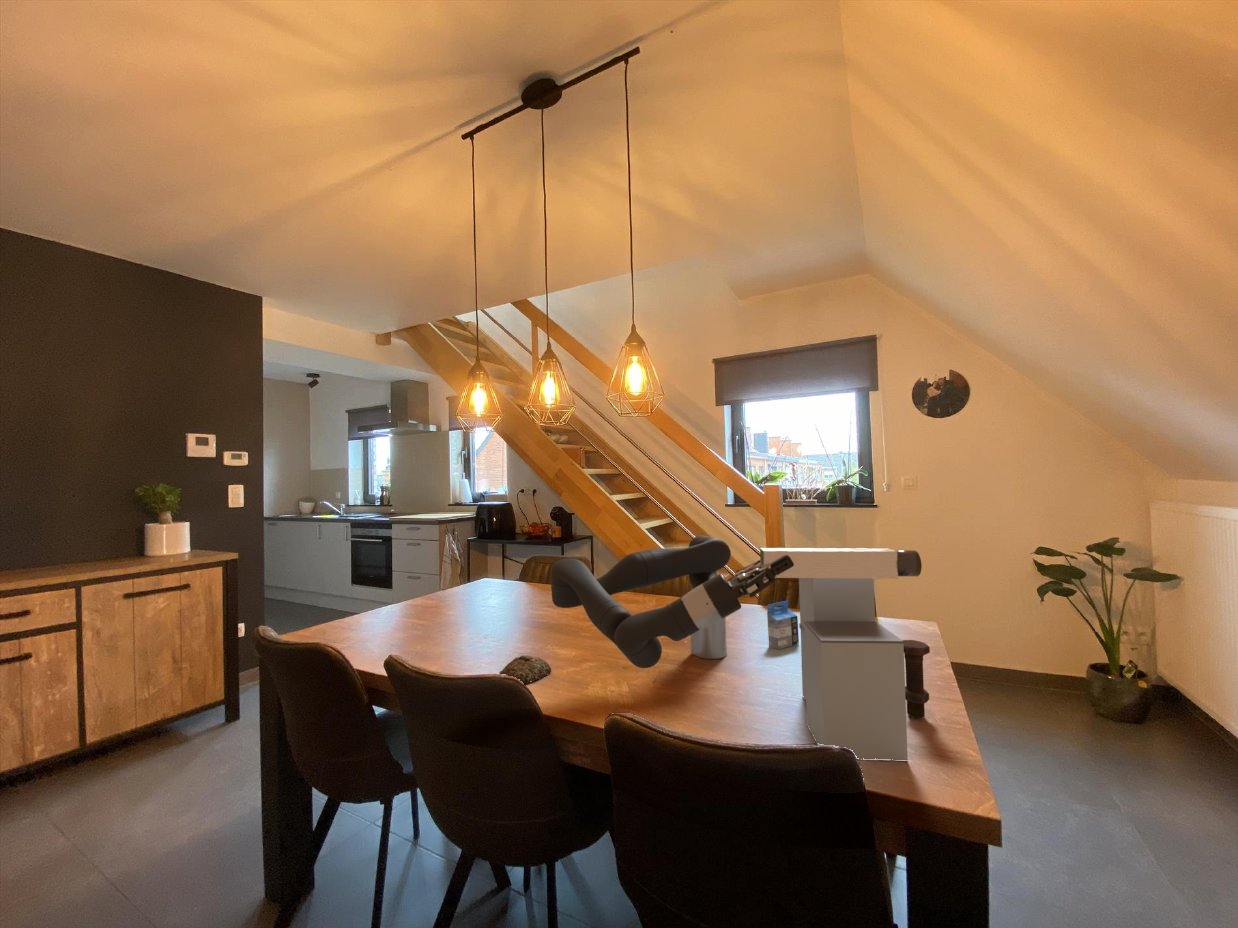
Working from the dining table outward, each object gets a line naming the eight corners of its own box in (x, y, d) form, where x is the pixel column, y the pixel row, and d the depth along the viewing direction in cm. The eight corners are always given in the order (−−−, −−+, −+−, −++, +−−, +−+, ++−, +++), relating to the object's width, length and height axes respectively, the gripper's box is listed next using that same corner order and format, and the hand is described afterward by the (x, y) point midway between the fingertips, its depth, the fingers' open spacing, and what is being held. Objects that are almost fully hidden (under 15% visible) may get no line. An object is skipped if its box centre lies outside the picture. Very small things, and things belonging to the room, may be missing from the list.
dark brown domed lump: (557, 674, 134) (557, 655, 134) (518, 689, 125) (518, 669, 125) (528, 663, 143) (527, 645, 143) (489, 676, 134) (489, 657, 134)
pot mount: (825, 759, 91) (819, 578, 92) (791, 695, 117) (786, 555, 118) (911, 761, 90) (905, 578, 90) (858, 696, 116) (853, 554, 116)
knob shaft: (764, 577, 96) (764, 551, 96) (760, 573, 101) (759, 547, 101) (921, 579, 93) (921, 551, 93) (909, 574, 98) (909, 548, 98)
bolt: (895, 710, 109) (893, 639, 109) (918, 709, 109) (915, 638, 109) (913, 723, 103) (910, 648, 103) (937, 722, 103) (934, 647, 104)
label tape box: (778, 650, 147) (777, 607, 148) (767, 646, 151) (766, 604, 151) (799, 644, 152) (798, 602, 152) (788, 640, 155) (787, 599, 155)
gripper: (702, 593, 93) (786, 545, 91) (699, 577, 107) (771, 536, 106) (724, 629, 92) (808, 582, 91) (717, 609, 106) (790, 568, 105)
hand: (788, 558), depth 98 cm, fingers closed on knob shaft, 4 cm apart
